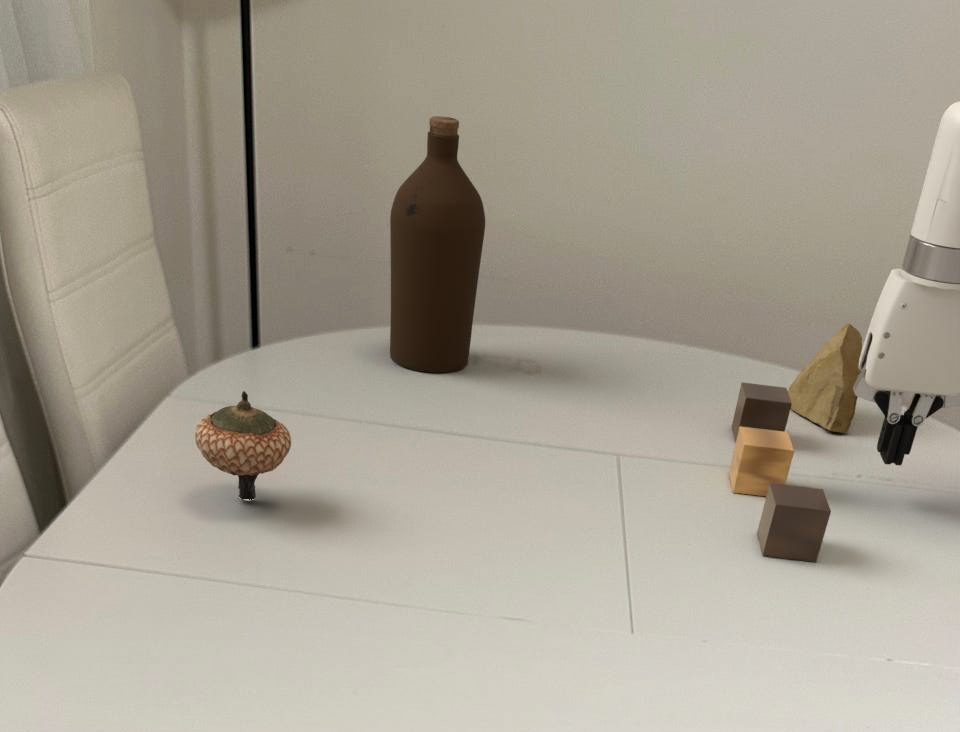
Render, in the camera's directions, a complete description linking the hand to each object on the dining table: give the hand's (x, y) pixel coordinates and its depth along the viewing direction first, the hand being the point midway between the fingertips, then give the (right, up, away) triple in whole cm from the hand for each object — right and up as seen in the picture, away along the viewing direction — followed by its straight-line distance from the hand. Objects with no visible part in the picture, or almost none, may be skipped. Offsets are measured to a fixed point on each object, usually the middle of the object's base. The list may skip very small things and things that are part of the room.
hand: (890, 459), depth 121 cm
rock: (-2, +11, +21) cm, 24 cm away
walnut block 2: (-13, -11, -8) cm, 18 cm away
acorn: (-62, -8, -11) cm, 64 cm away
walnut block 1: (-10, +7, +14) cm, 18 cm away
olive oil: (-47, +19, +24) cm, 56 cm away
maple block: (-13, -2, +3) cm, 13 cm away
